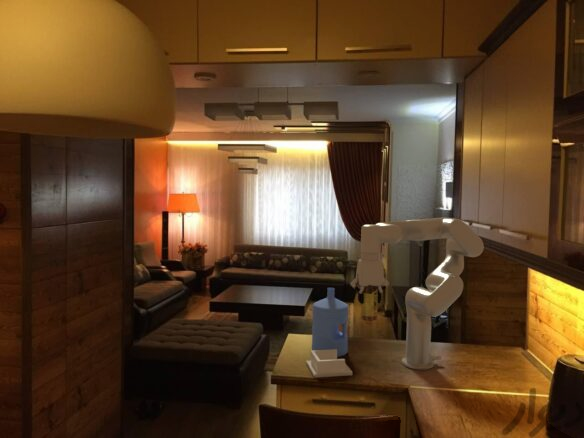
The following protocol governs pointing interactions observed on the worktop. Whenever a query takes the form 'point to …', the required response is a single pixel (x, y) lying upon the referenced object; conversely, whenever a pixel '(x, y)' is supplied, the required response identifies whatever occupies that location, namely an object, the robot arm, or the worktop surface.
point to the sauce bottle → (369, 303)
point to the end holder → (327, 364)
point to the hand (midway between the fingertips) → (369, 302)
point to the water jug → (330, 324)
